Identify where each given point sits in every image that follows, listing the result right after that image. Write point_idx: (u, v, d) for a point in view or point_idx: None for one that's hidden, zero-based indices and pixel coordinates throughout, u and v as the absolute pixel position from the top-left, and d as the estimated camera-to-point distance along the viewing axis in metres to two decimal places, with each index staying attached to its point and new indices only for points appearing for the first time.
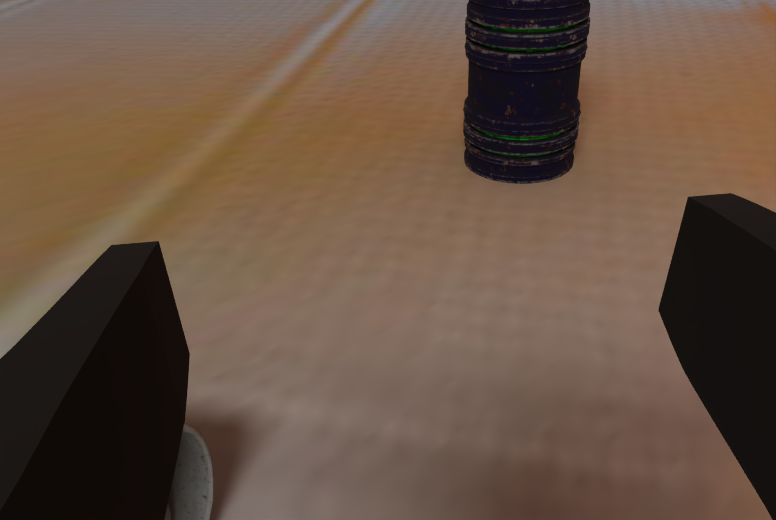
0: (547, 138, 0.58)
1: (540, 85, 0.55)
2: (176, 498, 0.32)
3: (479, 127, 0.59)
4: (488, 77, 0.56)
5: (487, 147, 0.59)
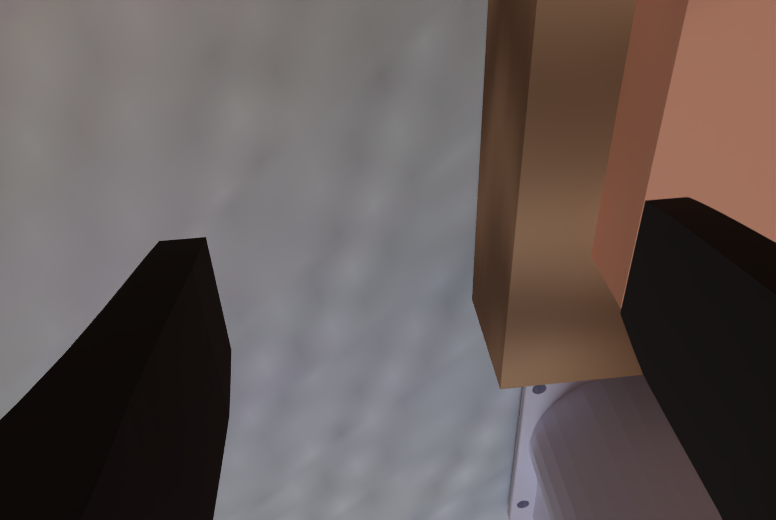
0: None
1: None
2: None
3: None
4: None
5: None
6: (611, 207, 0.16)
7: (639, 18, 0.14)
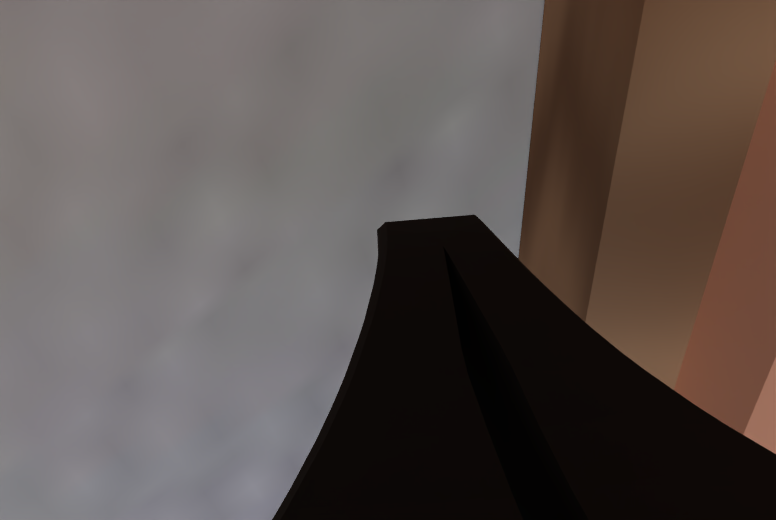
0: None
1: None
2: None
3: None
4: None
5: None
6: (706, 361, 0.12)
7: (766, 131, 0.10)
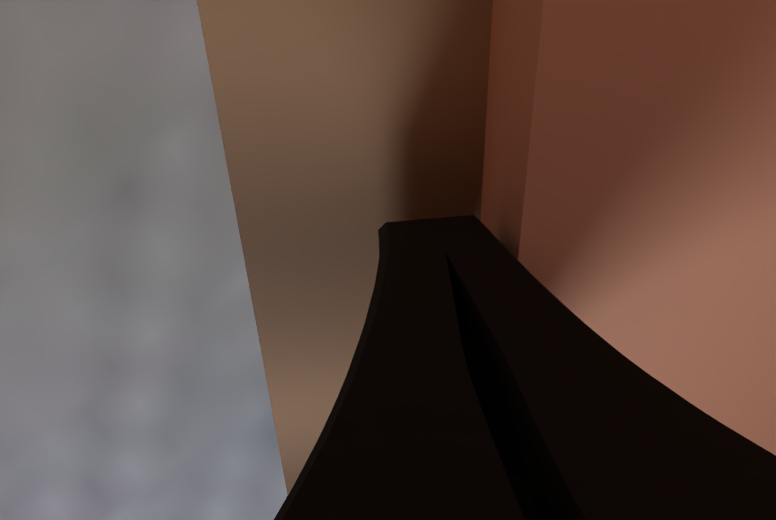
0: None
1: None
2: None
3: None
4: None
5: None
6: None
7: (488, 150, 0.10)
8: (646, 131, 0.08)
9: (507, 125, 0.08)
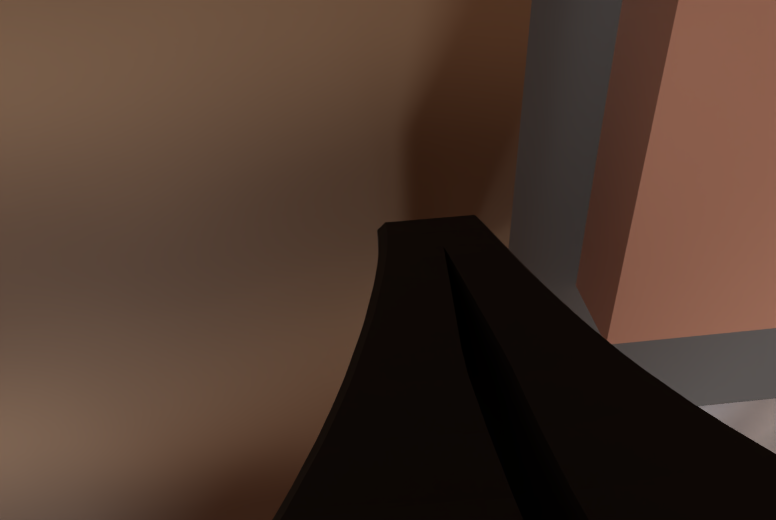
0: None
1: None
2: None
3: None
4: None
5: None
6: None
7: None
8: None
9: None
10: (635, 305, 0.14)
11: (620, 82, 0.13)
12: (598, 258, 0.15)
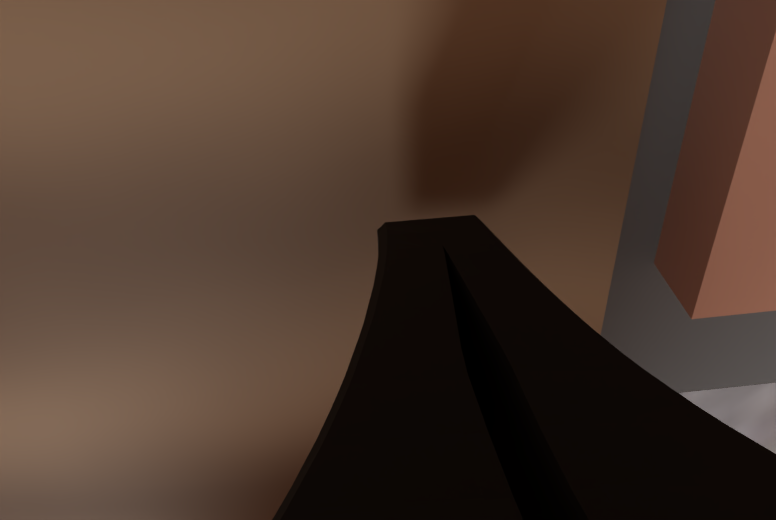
0: None
1: None
2: None
3: None
4: None
5: None
6: None
7: None
8: None
9: None
10: (723, 279, 0.15)
11: (716, 60, 0.13)
12: (683, 234, 0.15)
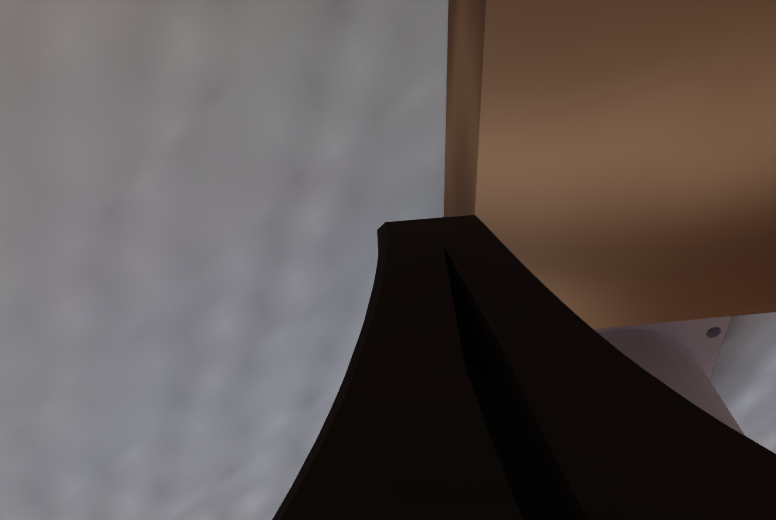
0: None
1: None
2: None
3: None
4: None
5: None
6: None
7: None
8: None
9: None
10: None
11: None
12: None
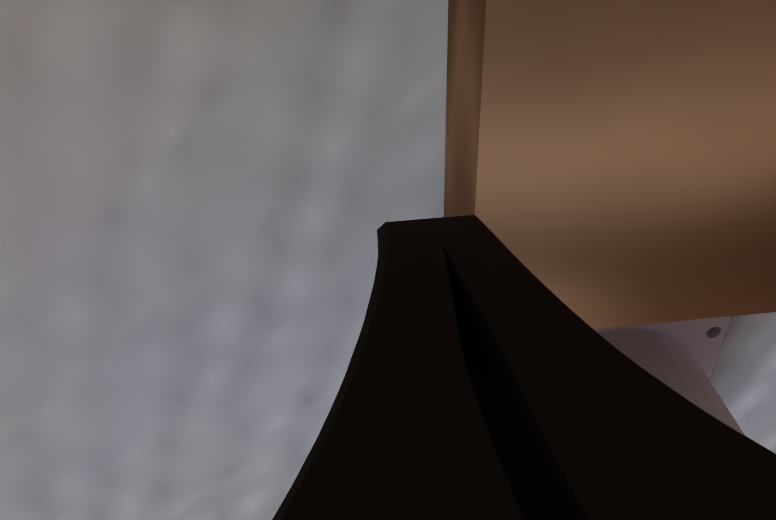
0: None
1: None
2: None
3: None
4: None
5: None
6: None
7: None
8: None
9: None
10: None
11: None
12: None
